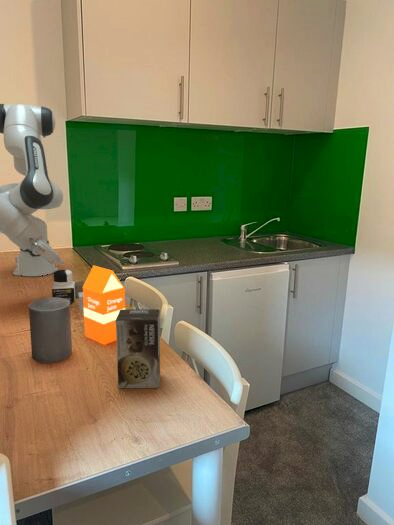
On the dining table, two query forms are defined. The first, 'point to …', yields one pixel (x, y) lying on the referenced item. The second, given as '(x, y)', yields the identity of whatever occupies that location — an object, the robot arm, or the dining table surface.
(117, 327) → the coffee box
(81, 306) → the grey painted block
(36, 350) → the pillar candle
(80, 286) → the walnut block
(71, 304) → the medicine bottle
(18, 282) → the dining table surface
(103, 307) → the orange juice
